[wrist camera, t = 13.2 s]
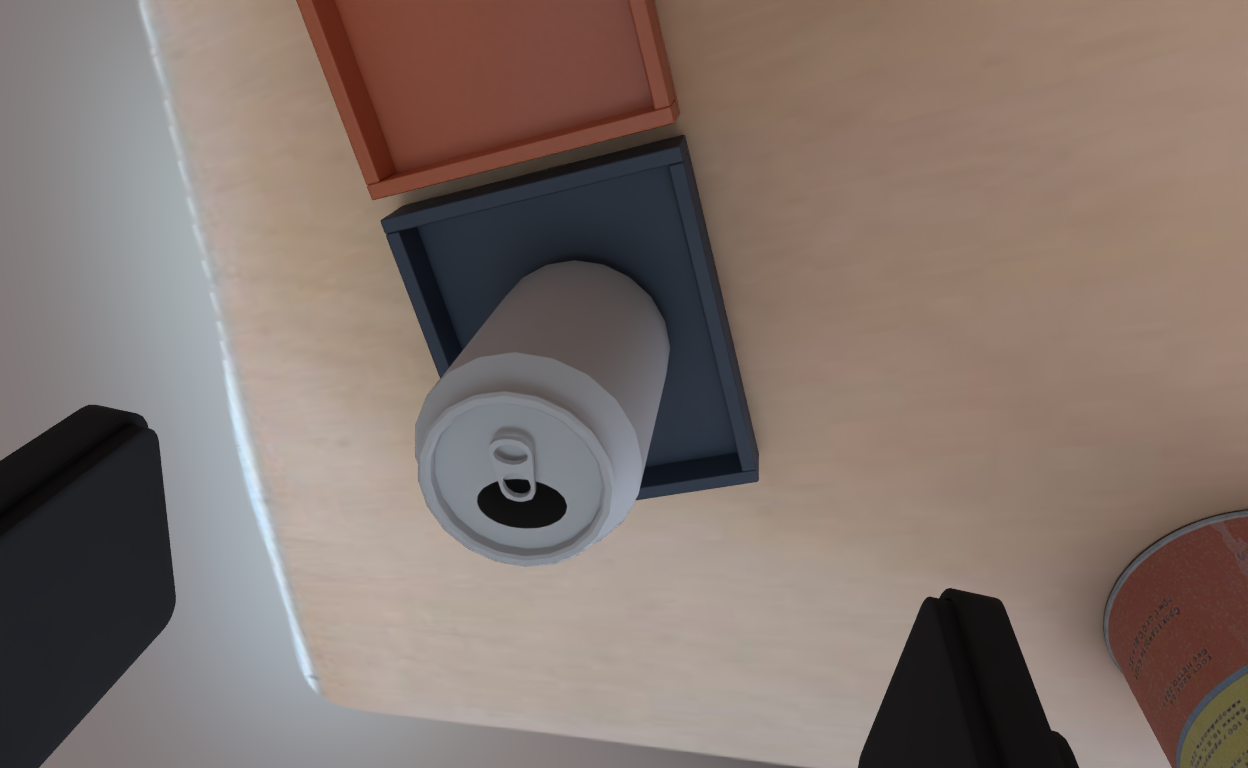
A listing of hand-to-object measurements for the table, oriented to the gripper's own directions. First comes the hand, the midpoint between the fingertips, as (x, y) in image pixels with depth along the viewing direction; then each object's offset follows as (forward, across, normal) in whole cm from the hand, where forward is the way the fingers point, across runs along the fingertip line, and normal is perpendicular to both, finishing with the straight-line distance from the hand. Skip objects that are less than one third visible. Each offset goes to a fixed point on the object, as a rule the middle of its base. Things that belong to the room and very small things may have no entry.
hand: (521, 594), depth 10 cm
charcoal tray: (+26, +3, +8) cm, 27 cm away
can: (+26, +3, +8) cm, 27 cm away
